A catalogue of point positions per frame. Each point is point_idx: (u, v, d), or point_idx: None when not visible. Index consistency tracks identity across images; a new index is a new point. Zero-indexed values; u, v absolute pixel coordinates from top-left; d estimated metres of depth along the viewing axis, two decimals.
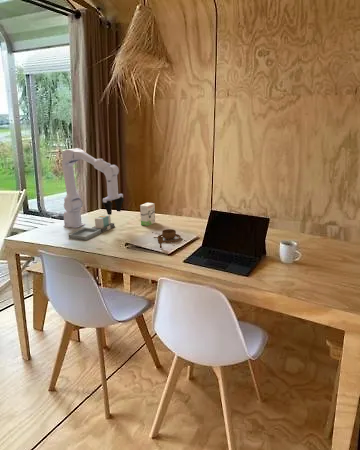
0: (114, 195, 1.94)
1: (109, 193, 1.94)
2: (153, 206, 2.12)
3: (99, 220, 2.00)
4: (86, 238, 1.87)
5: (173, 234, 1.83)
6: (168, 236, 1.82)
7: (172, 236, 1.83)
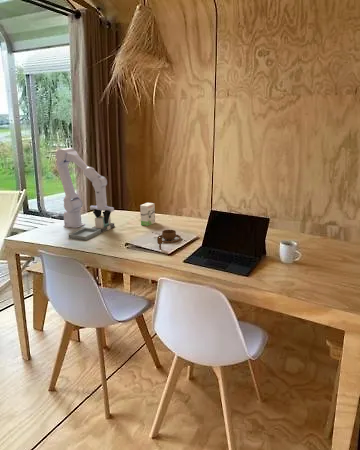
0: (96, 205, 2.00)
1: None
2: (153, 206, 2.12)
3: (99, 220, 2.00)
4: (86, 238, 1.87)
5: (173, 234, 1.83)
6: (168, 236, 1.82)
7: (172, 236, 1.82)
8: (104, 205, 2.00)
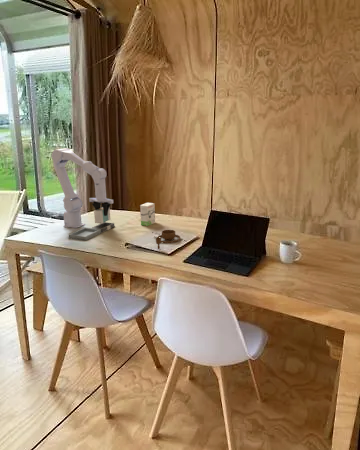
0: (96, 198, 1.99)
1: None
2: (153, 206, 2.12)
3: (98, 212, 1.98)
4: (86, 238, 1.87)
5: (172, 235, 1.82)
6: (167, 237, 1.82)
7: (171, 237, 1.82)
8: (103, 197, 1.99)
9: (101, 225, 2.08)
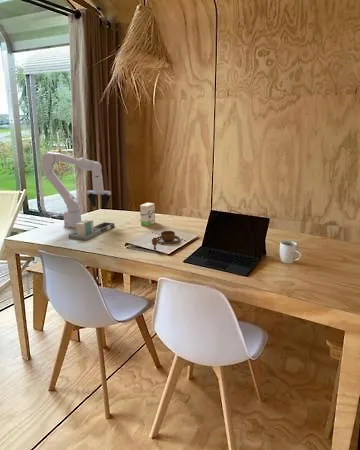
0: (93, 190, 2.08)
1: None
2: (153, 206, 2.12)
3: (80, 225, 1.89)
4: (86, 238, 1.87)
5: (171, 236, 1.80)
6: (166, 238, 1.80)
7: (170, 238, 1.80)
8: (101, 189, 2.07)
9: (101, 225, 2.08)
